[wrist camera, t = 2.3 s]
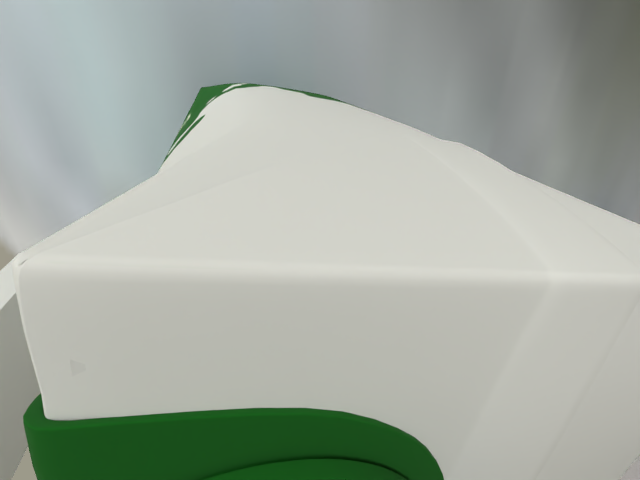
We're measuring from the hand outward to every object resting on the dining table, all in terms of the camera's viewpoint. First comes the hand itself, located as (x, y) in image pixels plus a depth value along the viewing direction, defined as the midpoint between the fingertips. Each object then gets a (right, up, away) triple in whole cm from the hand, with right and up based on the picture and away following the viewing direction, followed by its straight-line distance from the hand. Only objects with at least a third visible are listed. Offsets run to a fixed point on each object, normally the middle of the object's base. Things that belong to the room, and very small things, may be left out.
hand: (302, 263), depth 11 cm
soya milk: (-2, +5, +9) cm, 11 cm away
